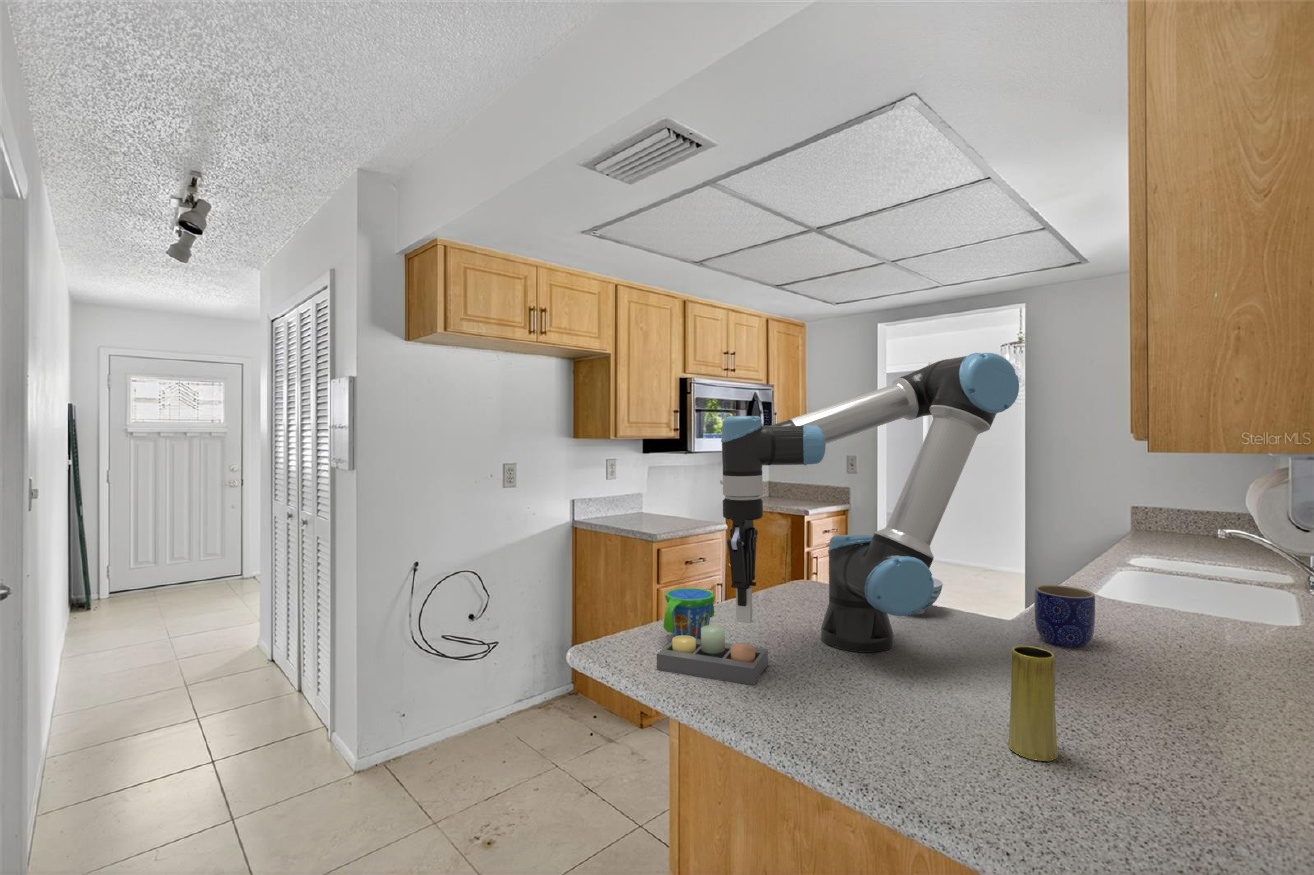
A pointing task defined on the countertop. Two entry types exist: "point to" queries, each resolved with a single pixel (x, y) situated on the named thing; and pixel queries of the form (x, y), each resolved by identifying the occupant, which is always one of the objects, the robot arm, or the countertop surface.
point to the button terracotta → (743, 652)
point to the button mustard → (684, 644)
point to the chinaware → (934, 595)
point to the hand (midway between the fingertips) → (744, 621)
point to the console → (713, 664)
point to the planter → (1064, 615)
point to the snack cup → (688, 611)
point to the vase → (1033, 703)
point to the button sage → (713, 639)
